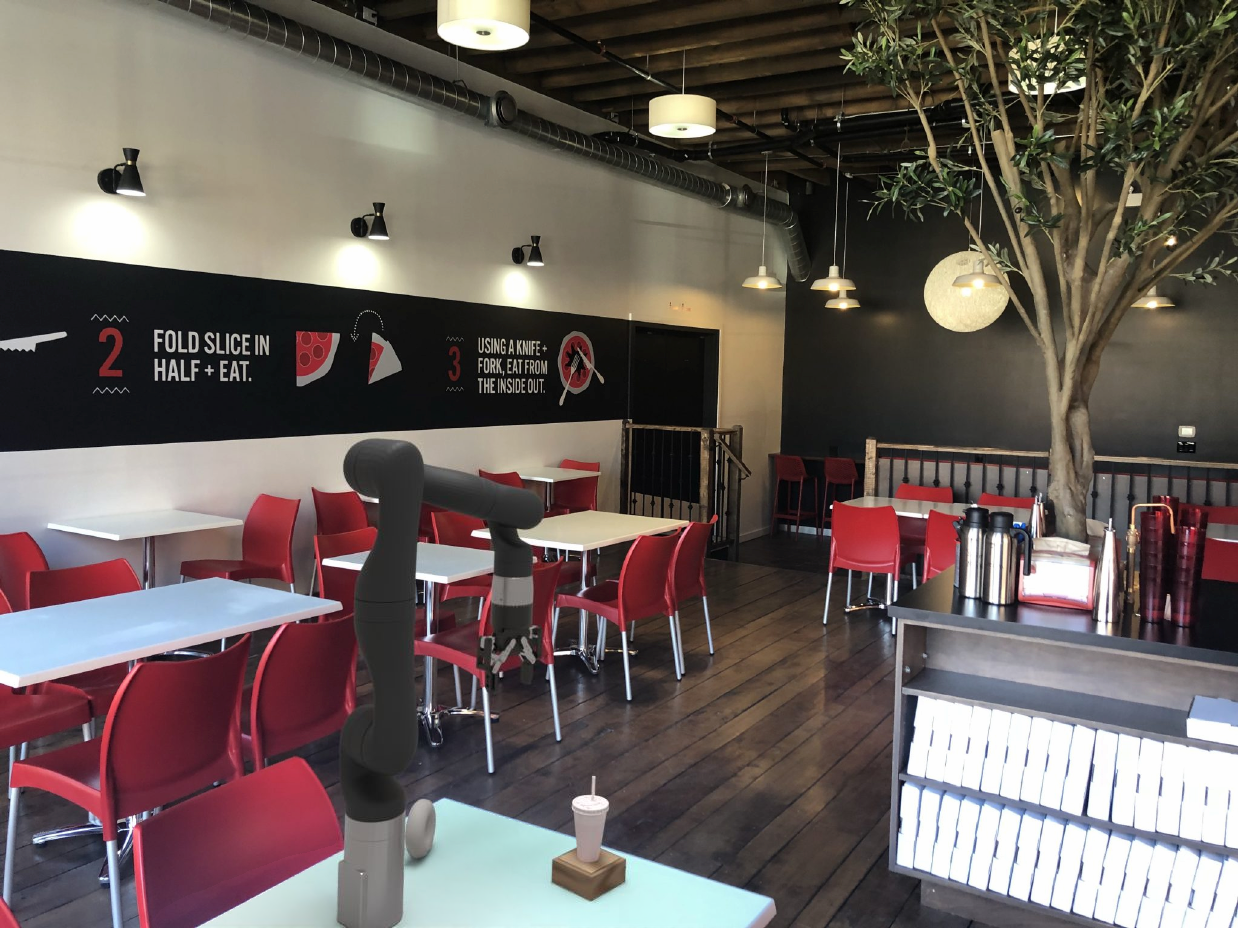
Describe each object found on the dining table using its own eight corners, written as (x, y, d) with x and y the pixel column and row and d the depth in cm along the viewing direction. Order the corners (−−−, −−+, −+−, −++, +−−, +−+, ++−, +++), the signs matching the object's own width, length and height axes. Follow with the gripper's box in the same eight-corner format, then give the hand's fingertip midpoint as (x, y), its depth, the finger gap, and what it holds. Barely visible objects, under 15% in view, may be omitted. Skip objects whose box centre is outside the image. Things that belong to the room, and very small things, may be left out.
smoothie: (614, 857, 163) (618, 778, 162) (588, 869, 158) (591, 787, 157) (587, 844, 167) (591, 767, 166) (561, 856, 162) (565, 776, 161)
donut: (419, 841, 175) (421, 789, 174) (437, 843, 174) (439, 790, 174) (401, 867, 165) (402, 811, 164) (420, 869, 164) (422, 813, 164)
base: (590, 900, 156) (591, 875, 156) (551, 881, 162) (552, 857, 162) (625, 881, 163) (626, 857, 163) (586, 863, 169) (587, 840, 169)
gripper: (497, 608, 162) (494, 700, 163) (554, 597, 173) (551, 684, 174) (468, 601, 167) (465, 691, 168) (525, 591, 178) (522, 675, 179)
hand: (509, 687), depth 171 cm, fingers open, 8 cm apart
